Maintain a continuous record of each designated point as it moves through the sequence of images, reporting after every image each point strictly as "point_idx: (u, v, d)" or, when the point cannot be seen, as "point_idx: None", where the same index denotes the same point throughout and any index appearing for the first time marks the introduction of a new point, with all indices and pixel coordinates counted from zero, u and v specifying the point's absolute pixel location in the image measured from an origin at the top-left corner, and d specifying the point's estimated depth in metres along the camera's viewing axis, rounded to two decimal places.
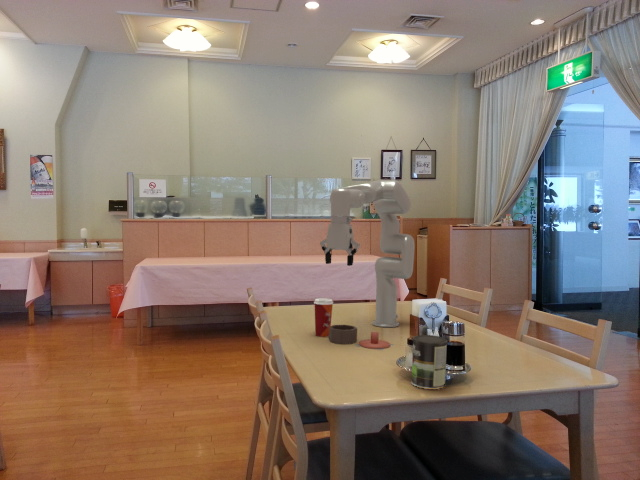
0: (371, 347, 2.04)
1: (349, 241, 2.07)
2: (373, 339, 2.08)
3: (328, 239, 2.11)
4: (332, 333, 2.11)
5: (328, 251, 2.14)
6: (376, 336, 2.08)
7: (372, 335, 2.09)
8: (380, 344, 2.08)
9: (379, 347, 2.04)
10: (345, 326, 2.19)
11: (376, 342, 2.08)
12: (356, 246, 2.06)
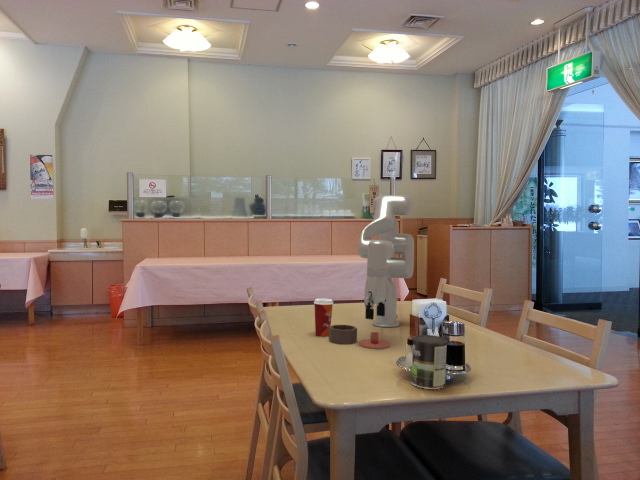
0: (371, 347, 2.04)
1: None
2: (373, 339, 2.08)
3: (376, 293, 2.04)
4: (332, 333, 2.11)
5: None
6: (376, 336, 2.08)
7: (372, 335, 2.09)
8: (380, 344, 2.08)
9: (379, 347, 2.04)
10: (345, 326, 2.19)
11: (376, 342, 2.08)
12: (385, 296, 2.15)
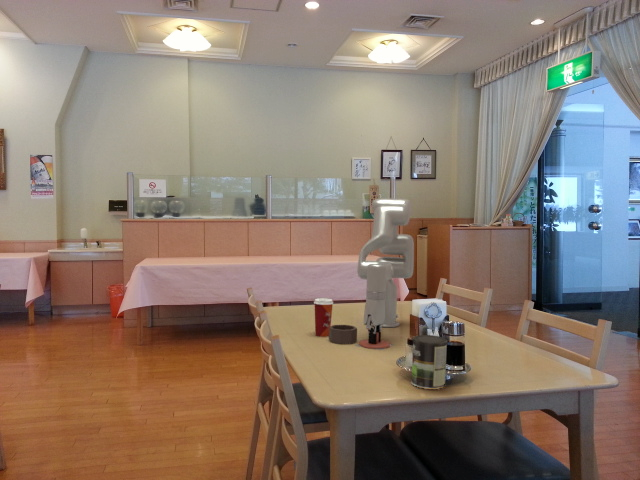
0: (371, 347, 2.04)
1: None
2: None
3: (376, 316, 2.05)
4: (332, 333, 2.11)
5: None
6: None
7: None
8: (380, 344, 2.08)
9: (379, 347, 2.04)
10: (345, 326, 2.19)
11: (376, 342, 2.09)
12: (382, 323, 2.14)
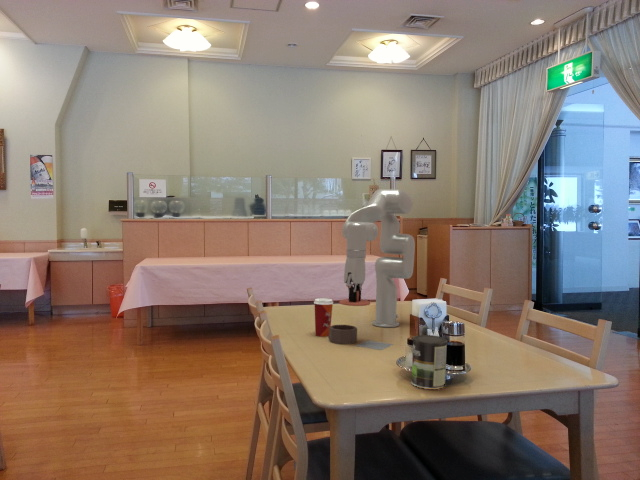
0: (351, 304, 2.07)
1: None
2: None
3: (356, 274, 2.07)
4: (332, 333, 2.11)
5: None
6: None
7: None
8: (360, 302, 2.10)
9: (359, 304, 2.07)
10: (345, 326, 2.19)
11: None
12: (362, 282, 2.16)
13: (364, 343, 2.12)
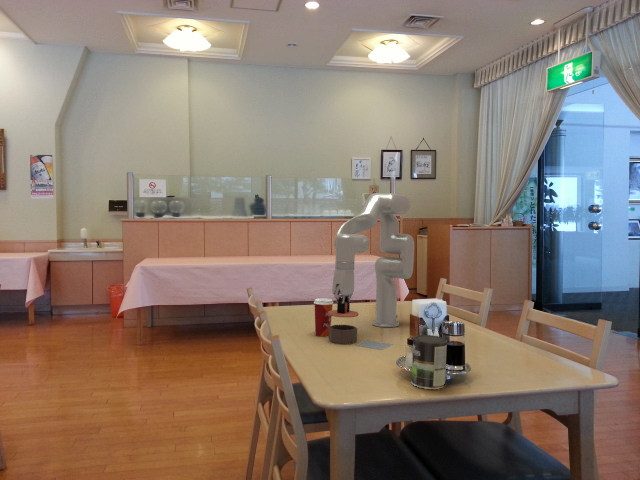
0: (339, 316, 2.09)
1: None
2: None
3: (344, 286, 2.09)
4: (332, 333, 2.11)
5: None
6: (345, 305, 2.13)
7: None
8: (348, 313, 2.12)
9: (347, 315, 2.08)
10: (345, 326, 2.19)
11: (345, 311, 2.13)
12: (351, 293, 2.18)
13: (364, 343, 2.12)
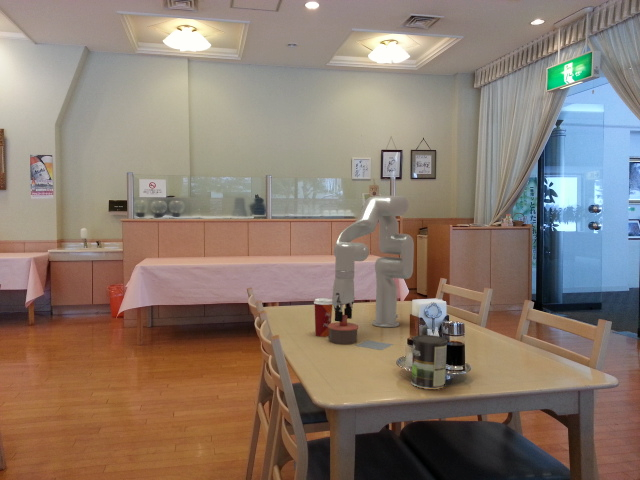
0: (339, 329, 2.09)
1: None
2: (342, 322, 2.13)
3: (344, 295, 2.10)
4: (332, 333, 2.11)
5: None
6: (345, 319, 2.13)
7: None
8: (348, 326, 2.13)
9: (347, 329, 2.09)
10: None
11: (345, 324, 2.13)
12: (353, 299, 2.20)
13: (364, 343, 2.12)
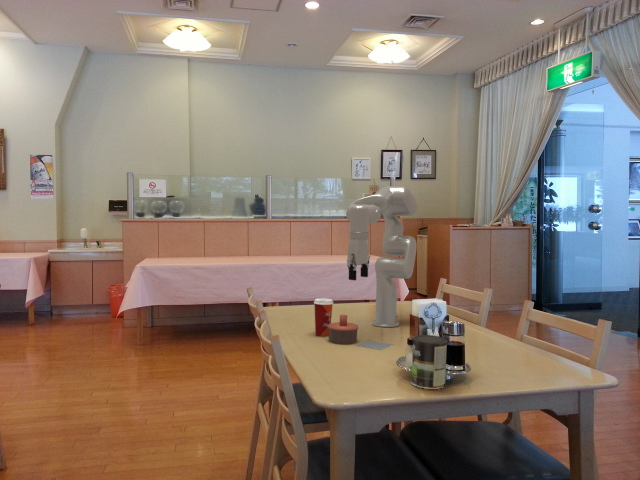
0: (339, 329, 2.09)
1: None
2: (342, 322, 2.13)
3: (358, 256, 2.14)
4: (332, 333, 2.11)
5: None
6: (345, 319, 2.13)
7: (341, 318, 2.13)
8: (348, 326, 2.13)
9: (347, 329, 2.09)
10: None
11: (345, 324, 2.13)
12: (369, 258, 2.25)
13: (364, 343, 2.12)
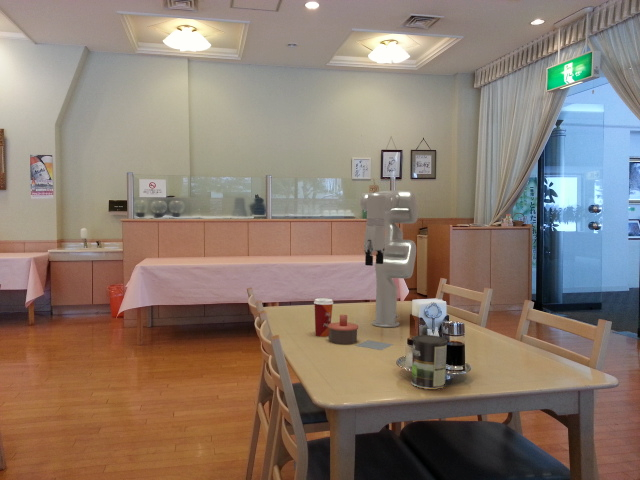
0: (339, 329, 2.09)
1: None
2: (342, 322, 2.13)
3: (375, 241, 2.19)
4: (332, 333, 2.11)
5: None
6: (345, 319, 2.13)
7: (341, 318, 2.13)
8: (348, 326, 2.13)
9: (347, 329, 2.09)
10: None
11: (345, 324, 2.13)
12: (384, 245, 2.30)
13: (364, 343, 2.12)
